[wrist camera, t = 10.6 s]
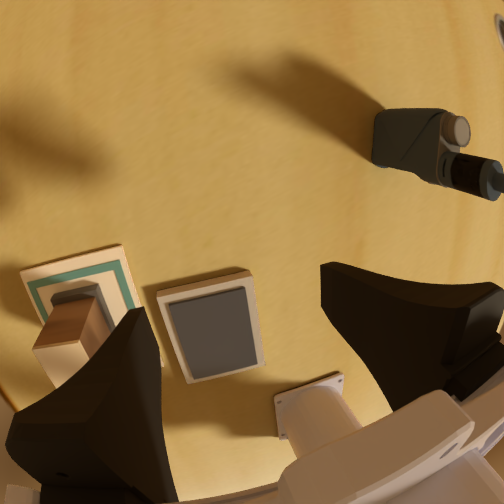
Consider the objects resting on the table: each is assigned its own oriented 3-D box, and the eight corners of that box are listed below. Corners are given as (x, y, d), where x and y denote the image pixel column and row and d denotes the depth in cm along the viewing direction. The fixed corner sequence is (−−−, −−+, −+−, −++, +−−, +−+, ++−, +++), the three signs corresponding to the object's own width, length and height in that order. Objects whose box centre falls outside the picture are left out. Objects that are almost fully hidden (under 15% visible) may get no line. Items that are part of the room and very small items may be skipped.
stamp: (120, 338, 21) (112, 396, 16) (78, 345, 20) (62, 401, 15) (98, 283, 19) (78, 335, 14) (53, 293, 18) (25, 343, 13)
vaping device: (368, 169, 22) (495, 205, 11) (373, 106, 20) (504, 107, 9) (391, 172, 23) (512, 209, 12) (397, 113, 21) (521, 121, 10)
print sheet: (164, 364, 23) (164, 367, 23) (74, 378, 22) (73, 381, 21) (122, 244, 19) (121, 246, 19) (20, 270, 17) (18, 273, 17)
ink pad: (262, 358, 26) (266, 367, 25) (186, 376, 24) (187, 386, 23) (249, 270, 22) (253, 277, 21) (156, 291, 21) (156, 299, 20)
